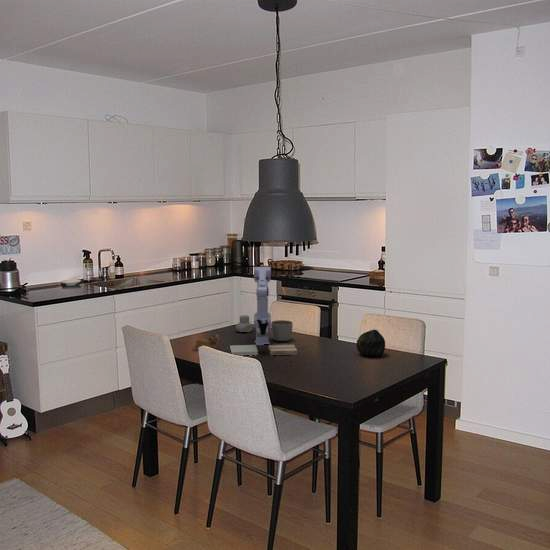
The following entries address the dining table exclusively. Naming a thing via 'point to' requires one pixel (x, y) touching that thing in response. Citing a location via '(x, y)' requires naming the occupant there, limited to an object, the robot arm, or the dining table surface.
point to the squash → (371, 343)
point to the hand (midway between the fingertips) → (262, 333)
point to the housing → (260, 332)
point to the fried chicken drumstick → (208, 341)
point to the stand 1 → (244, 350)
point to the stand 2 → (283, 349)
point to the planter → (281, 330)
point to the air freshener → (244, 324)
